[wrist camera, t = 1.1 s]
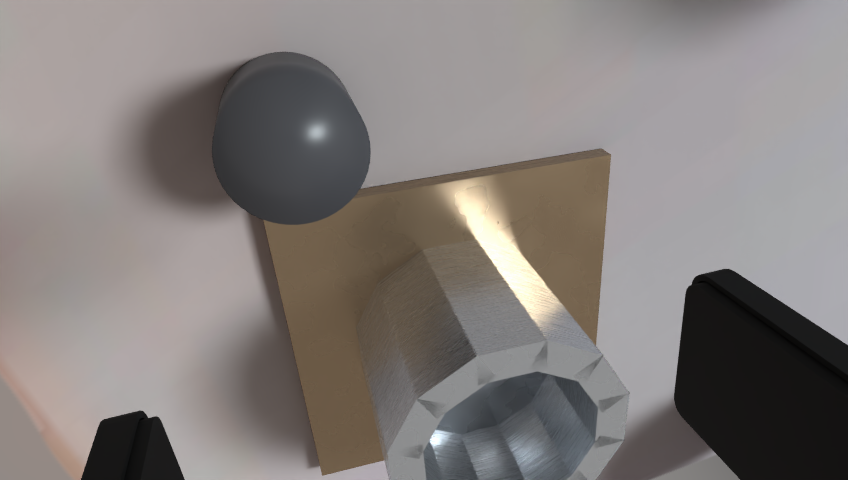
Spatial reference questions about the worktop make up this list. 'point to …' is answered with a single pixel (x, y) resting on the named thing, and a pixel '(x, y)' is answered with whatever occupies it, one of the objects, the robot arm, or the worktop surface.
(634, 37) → the worktop surface
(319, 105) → the cap
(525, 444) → the ball socket mount
